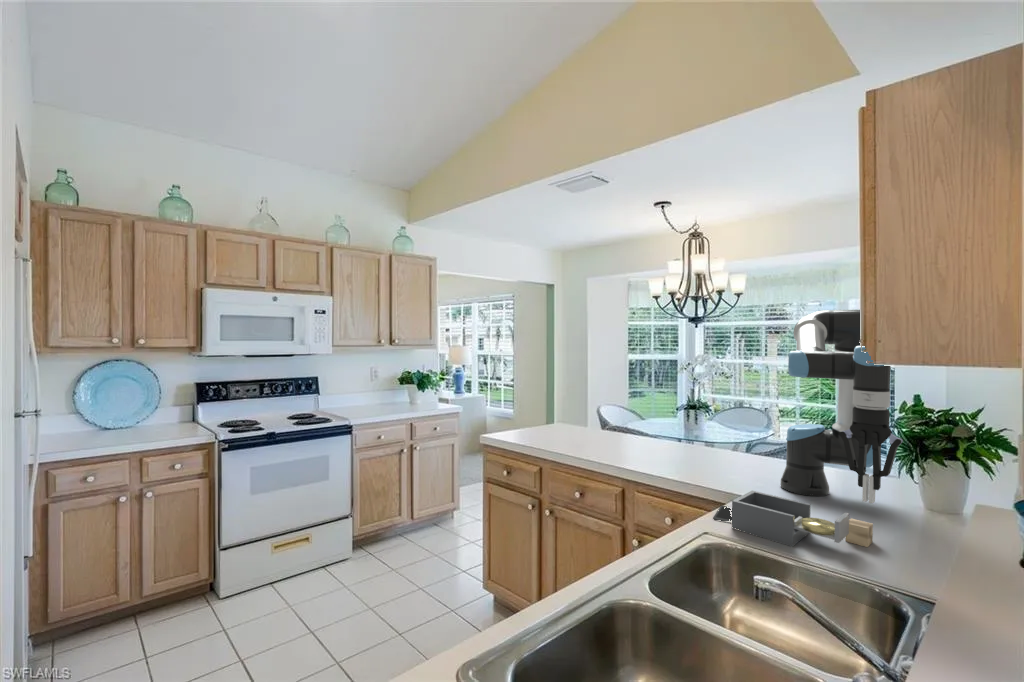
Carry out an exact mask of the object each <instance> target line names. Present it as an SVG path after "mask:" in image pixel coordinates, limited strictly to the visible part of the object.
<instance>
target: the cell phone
mask: <svg viewBox="0 0 1024 682" xmlns="http://www.w3.org/2000/svg"><path fill="white" fill-rule="evenodd" d="M724 507H726V508H725V509H724ZM718 510H719V511H718ZM718 510H717V511H716V512H715V514H714V515H713V516H712V520H713V519H714V520H713V521H716V520H721V521H729V519H730V521H731V520H732V517H731V516H730V515H731V514H730V511H729V510H731V509H730V508H727V505H720V506H719V508H718ZM731 512H732V511H731ZM721 521H720V522H721Z"/></svg>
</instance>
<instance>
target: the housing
mask: <svg viewBox="0 0 1024 682" xmlns="http://www.w3.org/2000/svg"><path fill="white" fill-rule="evenodd" d="M731 507H732V524H731V528H732V527H733V528H736V529H739V530H741V531H740V532H742V531H745V532H747V533H746V534H749V533H751V534H750V535H752V534H754V535H753V536H755V535H757V536H756V537H759V536H761V537H760V538H762V537H763V539H765V538H767V539H766V540H769V539H770V541H772V540H773V541H772V542H775V541H776V543H780V544H783V545H786V546H789V547H794V546H795V545H796V544H797V543H799V542H800V541H801V540H802V539H804V537H806V536H808V535H809V533H807V532H804V531H800V530H796V529H794V520H795V519H796V518H798V517H799V516H800V517H803V518H811V508H812V507H811V503H807V502H802V501H797V500H794V499H789V498H787V497H782V496H776V495H773V494H769V493H765V492H764V493H763V492H760V491H757V490H751V491H748V492H747V493H744V494H743V495H741V496H739V497H737V498H735V499H734V500H732V501H731ZM739 530H738V531H739ZM745 532H744V533H745Z"/></svg>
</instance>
